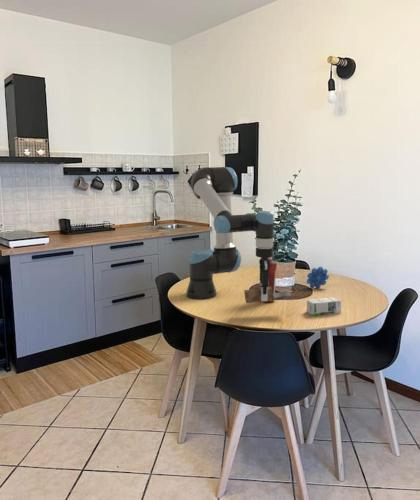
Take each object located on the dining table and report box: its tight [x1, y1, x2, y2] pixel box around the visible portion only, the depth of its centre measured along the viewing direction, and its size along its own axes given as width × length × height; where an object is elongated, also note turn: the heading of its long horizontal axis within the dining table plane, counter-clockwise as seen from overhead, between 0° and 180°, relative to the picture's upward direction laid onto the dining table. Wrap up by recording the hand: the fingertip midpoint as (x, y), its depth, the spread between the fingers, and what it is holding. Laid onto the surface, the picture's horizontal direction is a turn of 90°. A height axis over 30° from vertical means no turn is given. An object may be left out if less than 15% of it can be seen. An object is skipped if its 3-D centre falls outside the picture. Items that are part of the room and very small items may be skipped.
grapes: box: [306, 266, 330, 289], centre depth 237 cm, size 12×7×12 cm, turn 86°
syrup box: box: [306, 296, 342, 316], centre depth 198 cm, size 6×6×14 cm
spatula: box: [243, 287, 293, 304], centre depth 195 cm, size 20×6×5 cm, turn 93°
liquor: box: [263, 256, 278, 303], centre depth 213 cm, size 7×7×28 cm
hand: (263, 299), depth 195 cm, fingers closed on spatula, 4 cm apart
